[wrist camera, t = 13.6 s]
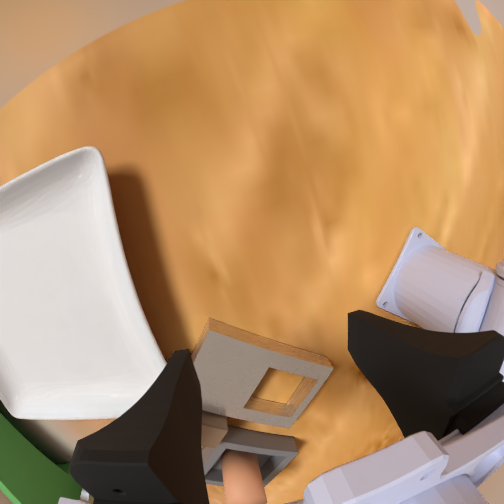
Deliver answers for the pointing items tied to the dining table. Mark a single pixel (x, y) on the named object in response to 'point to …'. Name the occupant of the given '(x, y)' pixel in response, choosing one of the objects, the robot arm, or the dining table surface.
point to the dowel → (242, 478)
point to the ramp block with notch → (31, 471)
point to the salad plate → (69, 297)
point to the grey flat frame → (252, 374)
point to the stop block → (213, 429)
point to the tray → (263, 444)
